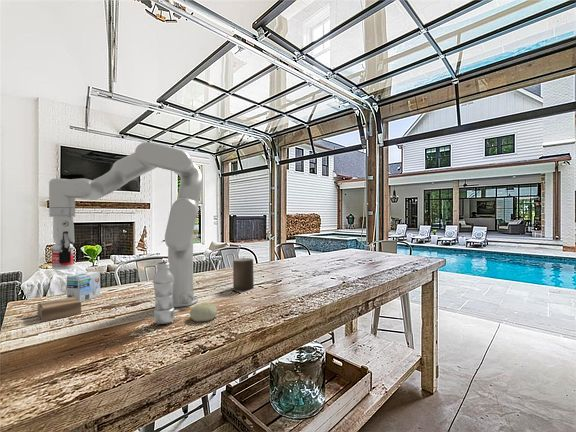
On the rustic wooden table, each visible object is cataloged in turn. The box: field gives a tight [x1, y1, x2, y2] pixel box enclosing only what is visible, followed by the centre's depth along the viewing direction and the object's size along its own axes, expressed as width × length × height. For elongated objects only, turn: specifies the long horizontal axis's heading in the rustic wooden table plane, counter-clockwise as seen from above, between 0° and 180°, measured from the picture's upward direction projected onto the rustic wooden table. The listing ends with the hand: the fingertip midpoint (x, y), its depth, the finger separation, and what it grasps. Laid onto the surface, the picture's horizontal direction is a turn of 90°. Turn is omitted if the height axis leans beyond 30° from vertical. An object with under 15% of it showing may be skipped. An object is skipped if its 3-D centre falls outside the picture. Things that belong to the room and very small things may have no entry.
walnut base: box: [36, 297, 82, 323], centre depth 106 cm, size 11×11×4 cm
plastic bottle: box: [152, 261, 176, 325], centre depth 96 cm, size 6×7×20 cm
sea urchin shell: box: [189, 302, 218, 323], centre depth 100 cm, size 9×8×8 cm
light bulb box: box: [66, 270, 101, 303], centre depth 125 cm, size 11×7×11 cm, turn 168°
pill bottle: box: [51, 239, 74, 271], centre depth 106 cm, size 6×6×11 cm
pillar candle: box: [232, 257, 255, 291], centre depth 139 cm, size 10×10×15 cm
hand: (62, 261), depth 106 cm, fingers closed on pill bottle, 6 cm apart
